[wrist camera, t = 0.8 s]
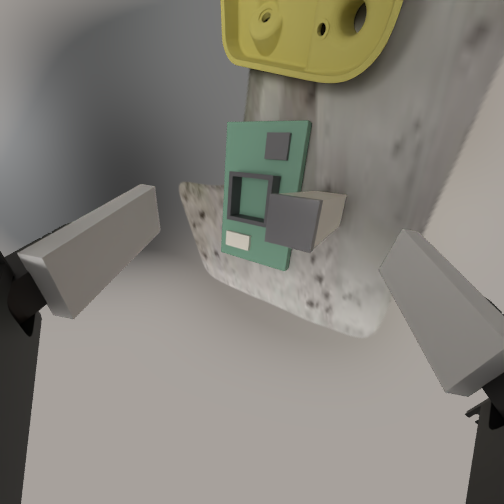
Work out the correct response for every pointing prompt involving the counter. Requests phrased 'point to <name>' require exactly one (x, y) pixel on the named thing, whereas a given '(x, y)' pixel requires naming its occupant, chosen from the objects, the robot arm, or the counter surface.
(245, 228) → the board
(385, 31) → the plastic component
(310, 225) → the plug
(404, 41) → the counter surface
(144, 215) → the robot arm
